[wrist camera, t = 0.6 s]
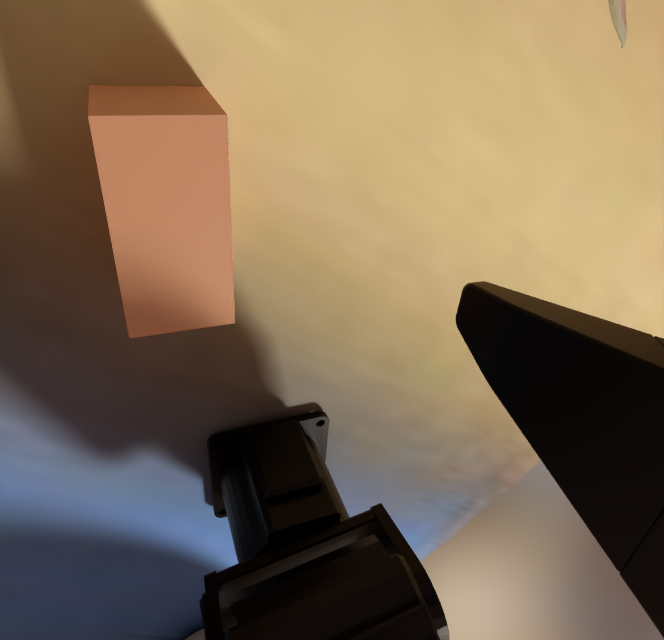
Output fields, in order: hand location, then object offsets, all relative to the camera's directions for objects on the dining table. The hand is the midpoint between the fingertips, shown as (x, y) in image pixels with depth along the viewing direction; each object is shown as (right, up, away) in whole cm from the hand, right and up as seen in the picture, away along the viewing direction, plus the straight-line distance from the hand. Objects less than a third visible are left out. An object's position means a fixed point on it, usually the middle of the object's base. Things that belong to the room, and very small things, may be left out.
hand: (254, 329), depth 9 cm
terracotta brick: (-5, +5, +9) cm, 11 cm away
